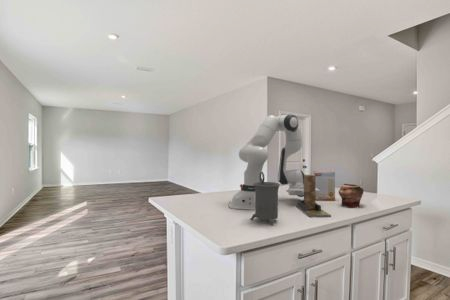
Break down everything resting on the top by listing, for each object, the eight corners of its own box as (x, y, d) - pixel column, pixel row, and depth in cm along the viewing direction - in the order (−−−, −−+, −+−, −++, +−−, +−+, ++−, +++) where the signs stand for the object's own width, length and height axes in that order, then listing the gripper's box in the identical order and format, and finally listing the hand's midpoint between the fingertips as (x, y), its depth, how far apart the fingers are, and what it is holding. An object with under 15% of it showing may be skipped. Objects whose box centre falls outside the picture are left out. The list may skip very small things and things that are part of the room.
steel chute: (309, 217, 135) (309, 209, 135) (295, 206, 160) (295, 200, 160) (331, 217, 136) (331, 209, 136) (313, 206, 161) (313, 200, 161)
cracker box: (332, 199, 183) (332, 171, 183) (335, 201, 177) (335, 171, 177) (312, 198, 185) (313, 170, 184) (315, 200, 179) (315, 171, 178)
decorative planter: (353, 202, 173) (353, 182, 173) (370, 206, 162) (370, 184, 162) (333, 205, 164) (333, 184, 164) (349, 209, 153) (350, 187, 153)
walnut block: (307, 208, 149) (307, 175, 149) (303, 206, 155) (303, 174, 155) (315, 208, 149) (315, 175, 149) (311, 206, 155) (311, 174, 155)
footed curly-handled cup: (286, 225, 121) (287, 174, 121) (258, 227, 118) (258, 175, 118) (272, 215, 140) (272, 170, 139) (247, 216, 137) (247, 171, 137)
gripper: (285, 185, 168) (291, 189, 155) (315, 185, 169) (323, 189, 155) (285, 194, 169) (291, 199, 155) (315, 195, 169) (323, 199, 155)
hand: (307, 194), depth 155 cm, fingers closed, pressing on walnut block
